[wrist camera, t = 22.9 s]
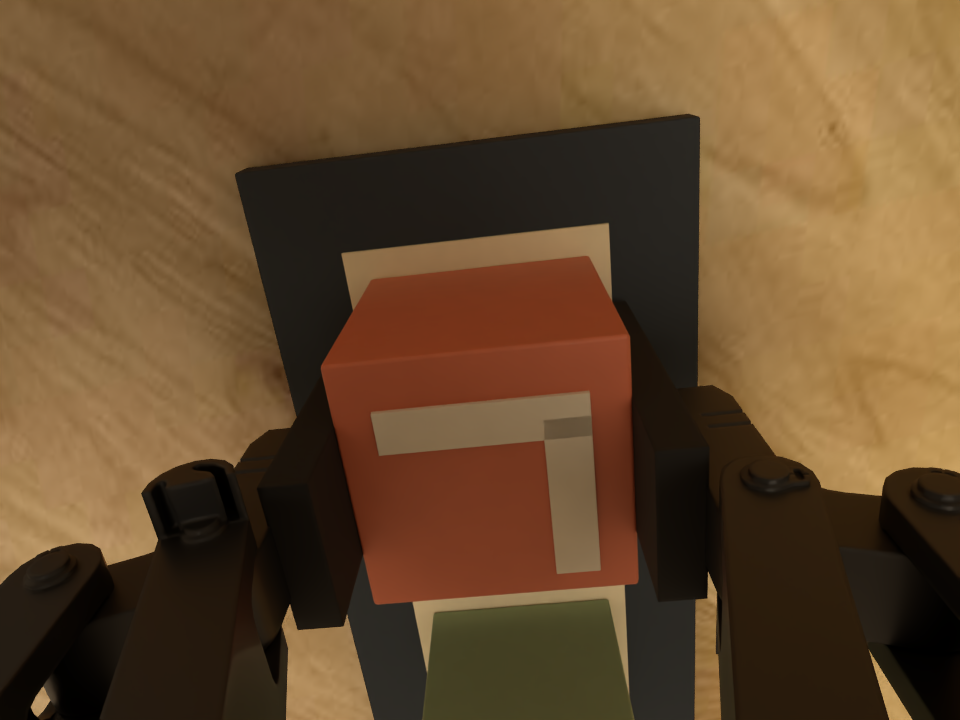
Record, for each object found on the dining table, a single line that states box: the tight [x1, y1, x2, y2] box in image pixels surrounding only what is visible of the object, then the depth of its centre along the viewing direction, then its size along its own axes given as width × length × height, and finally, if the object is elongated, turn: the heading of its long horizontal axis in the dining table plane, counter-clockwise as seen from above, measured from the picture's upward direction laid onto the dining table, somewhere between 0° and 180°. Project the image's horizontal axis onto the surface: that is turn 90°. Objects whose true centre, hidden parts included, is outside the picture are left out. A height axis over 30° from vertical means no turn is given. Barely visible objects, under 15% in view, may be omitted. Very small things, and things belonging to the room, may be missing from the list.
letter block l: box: [321, 256, 639, 605], centre depth 14 cm, size 5×5×5 cm
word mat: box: [235, 114, 700, 720], centre depth 19 cm, size 20×10×1 cm, turn 7°
